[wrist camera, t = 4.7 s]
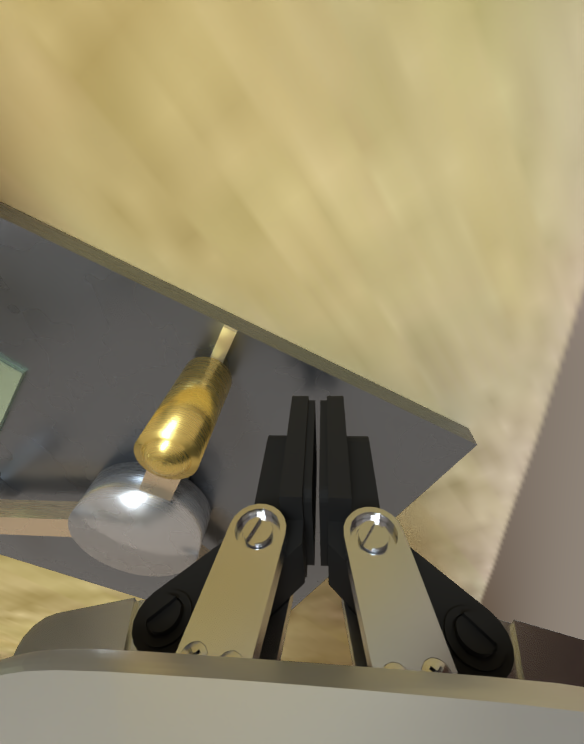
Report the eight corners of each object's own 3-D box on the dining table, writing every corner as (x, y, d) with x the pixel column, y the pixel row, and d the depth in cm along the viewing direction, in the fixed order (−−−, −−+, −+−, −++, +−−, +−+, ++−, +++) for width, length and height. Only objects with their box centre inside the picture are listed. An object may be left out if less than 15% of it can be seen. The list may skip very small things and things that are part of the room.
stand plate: (264, 620, 26) (261, 638, 25) (-46, 521, 22) (-64, 538, 21) (468, 428, 15) (479, 448, 14) (-75, 165, 11) (-115, 166, 10)
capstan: (263, 599, 22) (250, 697, 18) (-27, 502, 19) (-121, 595, 15) (415, 445, 14) (451, 558, 10) (-34, 239, 11) (-234, 286, 7)
